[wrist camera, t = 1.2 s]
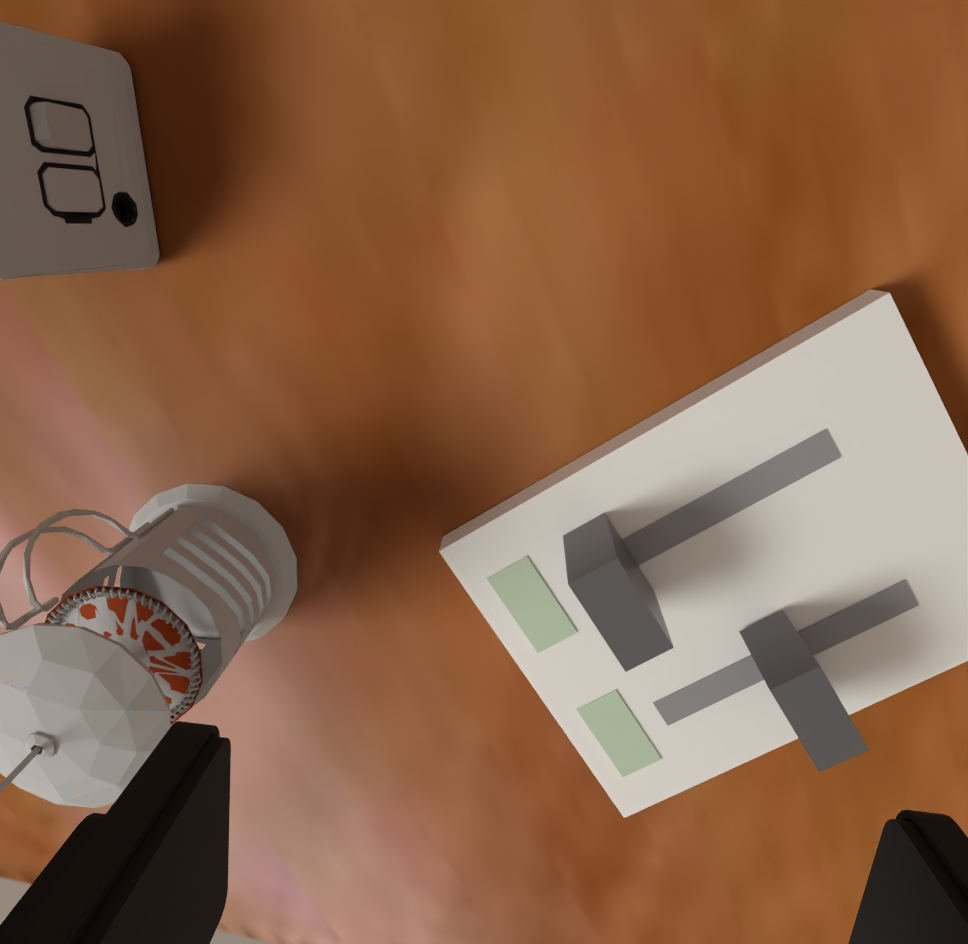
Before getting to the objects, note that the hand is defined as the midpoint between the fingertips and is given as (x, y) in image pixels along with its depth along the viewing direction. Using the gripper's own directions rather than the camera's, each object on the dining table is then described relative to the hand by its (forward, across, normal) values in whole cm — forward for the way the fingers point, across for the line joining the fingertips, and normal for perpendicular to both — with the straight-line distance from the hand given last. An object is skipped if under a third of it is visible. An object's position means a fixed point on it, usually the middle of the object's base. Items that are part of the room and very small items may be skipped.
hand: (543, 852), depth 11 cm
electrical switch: (+29, +22, -10) cm, 37 cm away
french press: (+30, +17, +9) cm, 35 cm away
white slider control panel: (+29, -12, +6) cm, 32 cm away
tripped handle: (+27, -14, +10) cm, 32 cm away
